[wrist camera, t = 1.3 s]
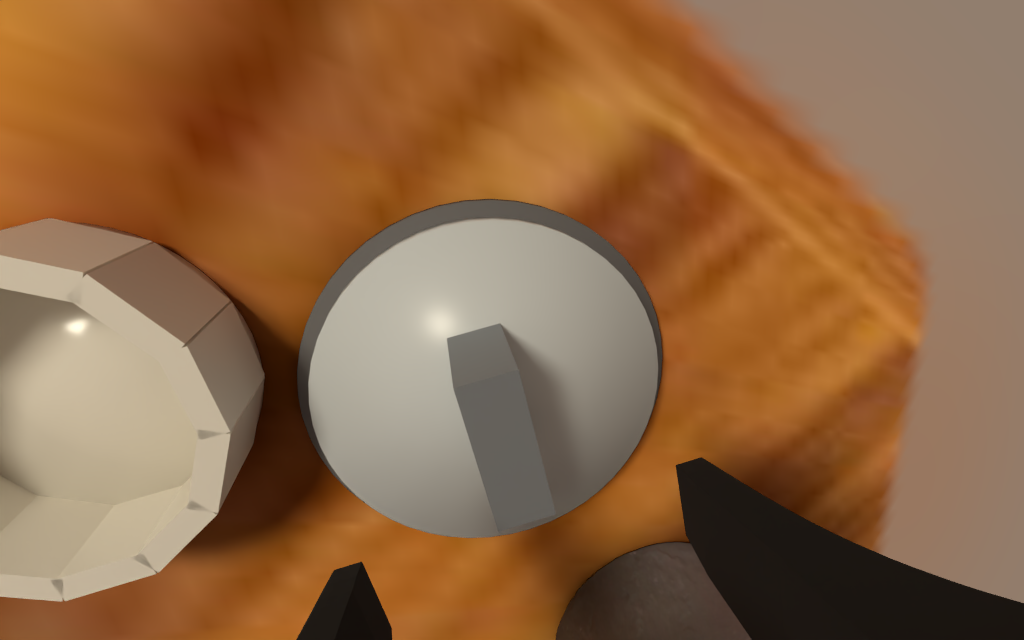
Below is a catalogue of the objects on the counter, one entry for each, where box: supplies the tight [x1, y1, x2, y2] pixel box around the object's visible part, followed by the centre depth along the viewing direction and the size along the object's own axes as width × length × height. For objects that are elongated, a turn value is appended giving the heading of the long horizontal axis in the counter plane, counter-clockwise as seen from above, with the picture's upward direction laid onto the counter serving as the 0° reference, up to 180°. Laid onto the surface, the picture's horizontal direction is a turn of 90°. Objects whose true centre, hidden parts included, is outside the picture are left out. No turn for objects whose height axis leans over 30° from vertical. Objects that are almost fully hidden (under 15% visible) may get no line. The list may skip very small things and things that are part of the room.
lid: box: [308, 216, 658, 538], centre depth 17 cm, size 12×12×4 cm
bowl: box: [0, 218, 265, 601], centre depth 16 cm, size 10×10×4 cm
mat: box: [297, 199, 662, 503], centre depth 20 cm, size 13×13×1 cm
